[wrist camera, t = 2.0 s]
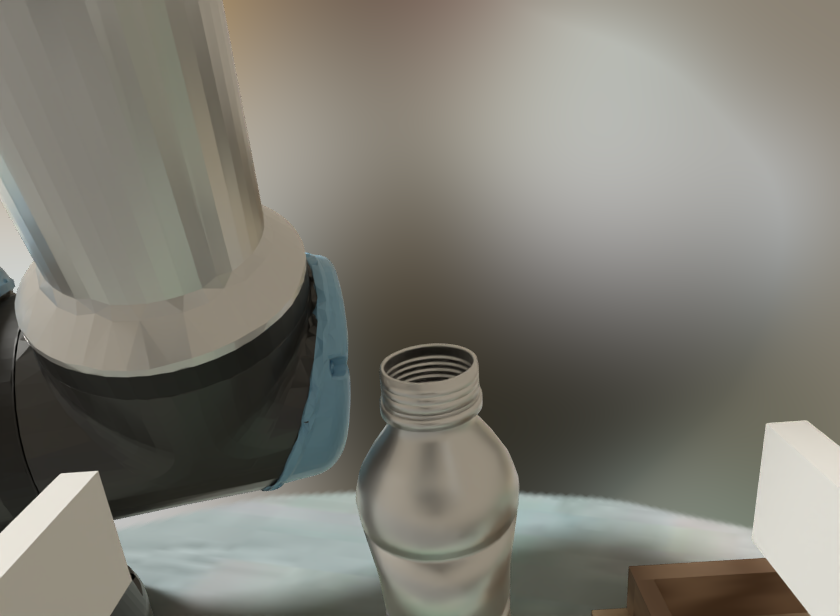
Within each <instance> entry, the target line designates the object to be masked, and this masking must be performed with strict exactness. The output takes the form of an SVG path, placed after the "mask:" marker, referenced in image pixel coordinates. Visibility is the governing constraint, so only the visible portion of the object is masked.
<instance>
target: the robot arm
mask: <svg viewBox="0 0 840 616" xmlns="http://www.w3.org/2000/svg"><path fill="white" fill-rule="evenodd" d="M0 200H1V202H2V204H3V206H4V207H5V209H6V211H7V213H8V215H9V216H10V218H11V220H12V222H13V224H14V225H15V227H16V229H17V231H18V233H19V234H20V236H21V238H22V240H23V242H24V244H25V245H26V247H27V249H28V251H29V253H30V254H31V256H32V258H33V260H34V261H33V262H32V264H31V265H30V266H29V268H28V270H27V271H26V273H25V274H24V276H23V278H22V280H21V282H20V285H19V287H18V289H17V293H16V294H15V293H13V288H14V287H15V285H14V281H13V279H11V278H10V277H9V276H8V275H7V274H6V272H5V271H4V270H3V269H2V268H1V267H0V616H154V615H153V612H152V608H151V605H150V602H149V598H148V595H147V592H146V589H145V587H144V585H143V583H142V582H141V580H140V578H139V577H138V576H137V574H136V573H135V572H134V571H133V570H132V569H131V568H130V567H129V566H127V563H126V560H125V556H124V553H123V550H122V547H121V543H120V540H119V537H118V534H117V530H116V527H115V524H114V521H113V520H116V519H121V518H126V517H130V516H135V515H140V514H144V513H149V512H153V511H159V510H163V509H168V508H172V507H177V506H182V505H187V504H192V503H197V502H202V501H207V500H212V499H217V498H222V497H227V496H233V495H237V494H243V493H248V492H253V491H258V490H262V491H271V490H275V489H278V488H279V487H281V486H282V485H283V484H284V483H288V482H291V481H295V480H298V479H302V478H306V477H310V476H314V475H317V474H320V473H323V472H324V471H326V470H328V469H329V468H331V467H332V466H333V465H334V464H335V463H336V461H337V460H338V459H339V457H340V455H341V454H342V452H343V449H344V446H345V443H346V438H347V434H348V427H349V416H350V374H349V369H348V366H347V359H348V334H347V324H346V316H345V309H344V302H343V297H342V292H341V288H340V283H339V280H338V277H337V273H336V270H335V268H334V266H333V264H332V263H331V262H330V260H329V259H327V258H326V257H324V256H321V255H312V254H310V253H306V252H305V250H304V246H303V242H302V240H301V238H300V236H299V235H298V233H297V231H296V230H295V228H294V227H293V226H292V225H291V224H290V223H289V222H288V221H287V220H286V219H284V217H282V216H281V215H279V214H278V213H276V212H275V211H273V210H271V209H269V208H267V207H265V206H263V205H261V201H260V195H259V190H258V184H257V179H256V174H255V169H254V164H253V158H252V153H251V148H250V142H249V137H248V133H247V127H246V122H245V116H244V111H243V106H242V101H241V96H240V91H239V85H238V80H237V74H236V69H235V64H234V59H233V53H232V48H231V43H230V38H229V32H228V27H227V22H226V17H225V11H224V6H223V1H222V0H0ZM752 541H753V542H754V544H755V545H756V546H757V548H758V549H759V550H760V551H761V553H762V554H763V555H764V556H765V558H766V559H767V560H768V562H769V563H770V564H771V565H772V567H773V568H774V569H775V571H776V572H777V573H778V574H779V576H780V577H781V578H782V580H783V581H784V582H785V583H786V585H787V586H788V587H789V588H790V590H791V591H792V592H793V594H794V595H795V596H796V597H797V599H798V600H799V601H800V603H801V604H802V605H803V606H804V608H805V609H806V610H807V611H808V613H809V614H810V615H811V616H840V446H838V445H837V444H836V443H835V442H833V441H832V440H831V439H830V438H828V437H827V436H826V435H824V434H823V433H822V432H820V431H819V430H818V429H817V428H816V427H814V426H813V425H812V424H810V423H809V422H808V421H807V420H805V421H792V422H777V423H766V429H765V437H764V445H763V453H762V461H761V469H760V477H759V484H758V492H757V500H756V508H755V516H754V525H753V532H752Z"/></svg>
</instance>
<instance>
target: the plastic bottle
mask: <svg viewBox="0 0 840 616" xmlns="http://www.w3.org/2000/svg"><path fill="white" fill-rule="evenodd" d="M478 371H479V370H478V362H477V357H476V355H475V354H474V353H473V352H472V351H471V350H469V349H467V348H464V347H462V346H457V345H452V344H424V345H418V346H412V347H408V348H405V349H402V350H399V351H397V352H395V353H393V354H391V355H389V356H388V357H387V358H385V359H384V360H383V362H382V363H381V365H380V372H379V373H380V384H381V392H382V395H381V397H380V412H381V416H382V418H383V420H384V421H385V422H386V423H387V425H386V426H385V428H384V429H383V430H382V432H381V433H380V434H379V436H378V437H377V439H376V440H375V442H374V443H373V445H372V447H371V449H370V450H369V452H368V454H367V456H366V458H365V459H364V461H363V463H362V466H361V469H360V472H359V478H358V483H357V489H356V504H357V508H358V512H359V516H360V520H361V524H362V527H363V529H364V532H365V535H366V538H367V541H368V544H369V547H370V550H371V553H372V556H373V559H374V562H375V565H376V568H377V571H378V574H379V579H380V584H381V589H382V594H383V599H384V602H385V606H386V613H387V616H511V613H510V578H511V555H512V548H513V540H514V533H515V525H516V517H517V509H518V501H519V480H518V475H517V472H516V469H515V467H514V464H513V462H512V459H511V457H510V455H509V452H508V450H507V449H506V447H505V446H504V445H503V443H502V442H501V441H500V439H498V437H497V436H496V435H495V433H494V432H493V431H492V430H491V428H490V427H489V426H488V425H487V424H486V423H485V422H484V421H482V419H481V418H480V417H479V416H478V415H477V414H478V413H479V411H480V410H481V408H482V390H481V388H480V386H479V372H478Z"/></svg>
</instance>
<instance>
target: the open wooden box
mask: <svg viewBox="0 0 840 616" xmlns="http://www.w3.org/2000/svg"><path fill="white" fill-rule="evenodd" d="M592 616H811V615H810V614H809V613H808V611H807V610H806V609H805V608H804V606H803V605H802V604H801V603H800V601H799V600H798V599H797V597H796V596H795V595H794V594H793V592H792V591H791V590H790V588H789V587H788V586H787V585H786V583H785V582H784V581H783V580H782V578H781V577H780V576H779V574H778V573H777V572H776V571H775V569H774V568H773V567H772V565H771V564H770V563H769V562H768V560H767V559H766V558H757V559H741V560H724V561H708V562H692V563H676V564H660V565H644V566H629V572H628V592H627V608H619V609H603V610H592Z"/></svg>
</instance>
